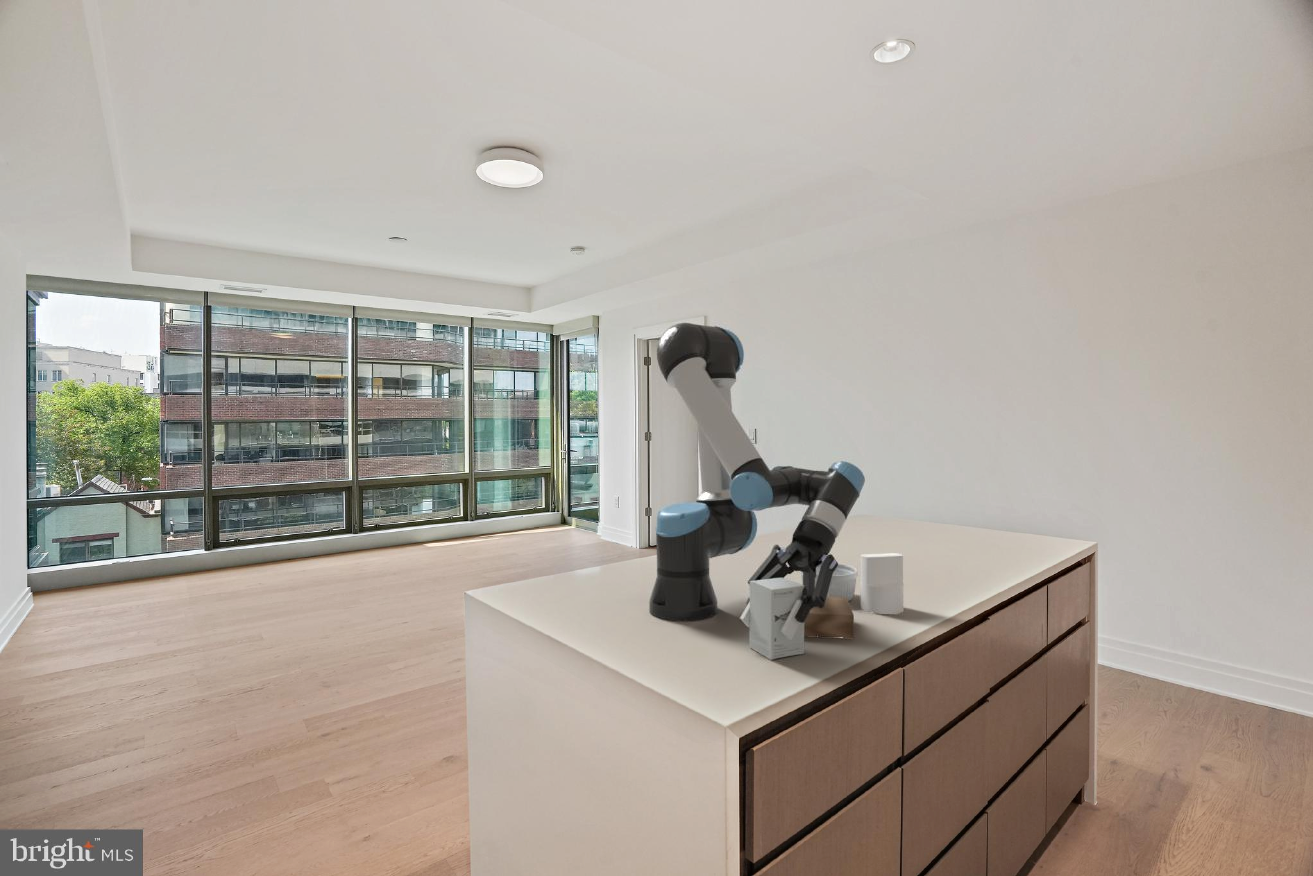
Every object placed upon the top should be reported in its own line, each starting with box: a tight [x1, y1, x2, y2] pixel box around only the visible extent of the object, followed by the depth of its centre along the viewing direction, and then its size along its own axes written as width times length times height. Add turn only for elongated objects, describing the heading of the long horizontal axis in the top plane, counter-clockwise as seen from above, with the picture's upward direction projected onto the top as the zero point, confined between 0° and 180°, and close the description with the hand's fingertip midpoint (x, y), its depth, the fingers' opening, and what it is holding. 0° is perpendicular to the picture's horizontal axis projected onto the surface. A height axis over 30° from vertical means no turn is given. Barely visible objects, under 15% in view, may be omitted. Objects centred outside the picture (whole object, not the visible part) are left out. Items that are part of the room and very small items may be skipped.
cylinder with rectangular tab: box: [860, 552, 904, 615], centre depth 143 cm, size 9×9×12 cm
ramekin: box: [799, 563, 859, 602], centre depth 153 cm, size 13×13×7 cm
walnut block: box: [804, 597, 855, 639], centre depth 131 cm, size 12×12×5 cm
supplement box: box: [749, 577, 805, 661], centre depth 117 cm, size 7×7×13 cm
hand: (764, 629), depth 115 cm, fingers closed on supplement box, 9 cm apart
